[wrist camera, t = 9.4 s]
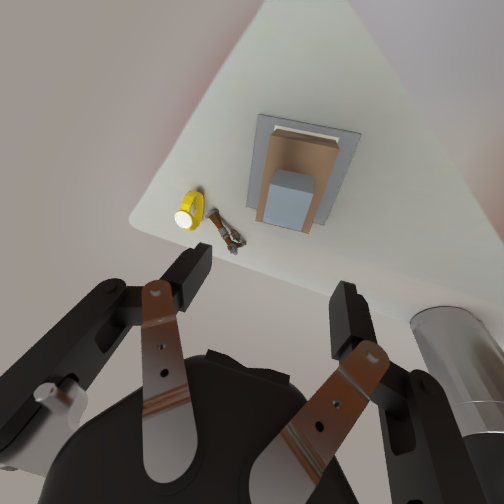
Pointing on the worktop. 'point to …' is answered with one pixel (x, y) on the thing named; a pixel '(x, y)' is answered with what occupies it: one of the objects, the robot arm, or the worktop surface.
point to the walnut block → (298, 166)
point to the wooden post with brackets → (225, 232)
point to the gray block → (289, 199)
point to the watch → (184, 215)
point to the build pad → (343, 138)
